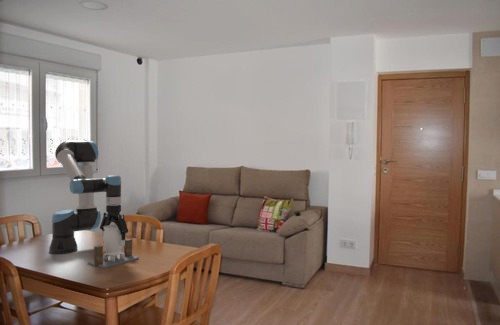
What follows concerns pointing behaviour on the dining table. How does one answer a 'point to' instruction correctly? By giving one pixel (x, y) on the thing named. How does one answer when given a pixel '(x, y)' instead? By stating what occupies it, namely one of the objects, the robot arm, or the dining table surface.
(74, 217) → the robot arm
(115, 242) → the jar
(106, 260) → the peg stand
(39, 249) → the dining table surface
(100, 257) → the frame posts
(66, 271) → the dining table surface
